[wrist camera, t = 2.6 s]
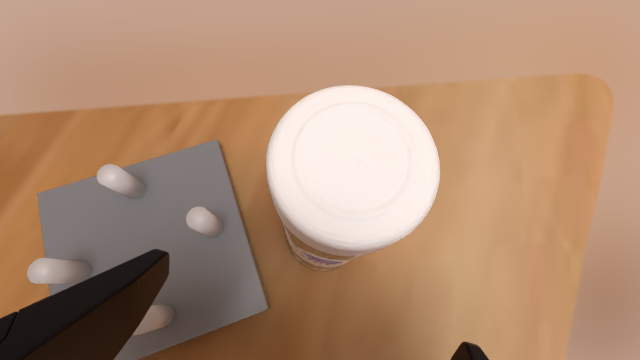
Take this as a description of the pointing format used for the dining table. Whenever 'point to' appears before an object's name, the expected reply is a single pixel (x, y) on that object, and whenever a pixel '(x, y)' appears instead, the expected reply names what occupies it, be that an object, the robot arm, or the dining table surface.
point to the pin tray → (157, 242)
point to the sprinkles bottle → (350, 174)
